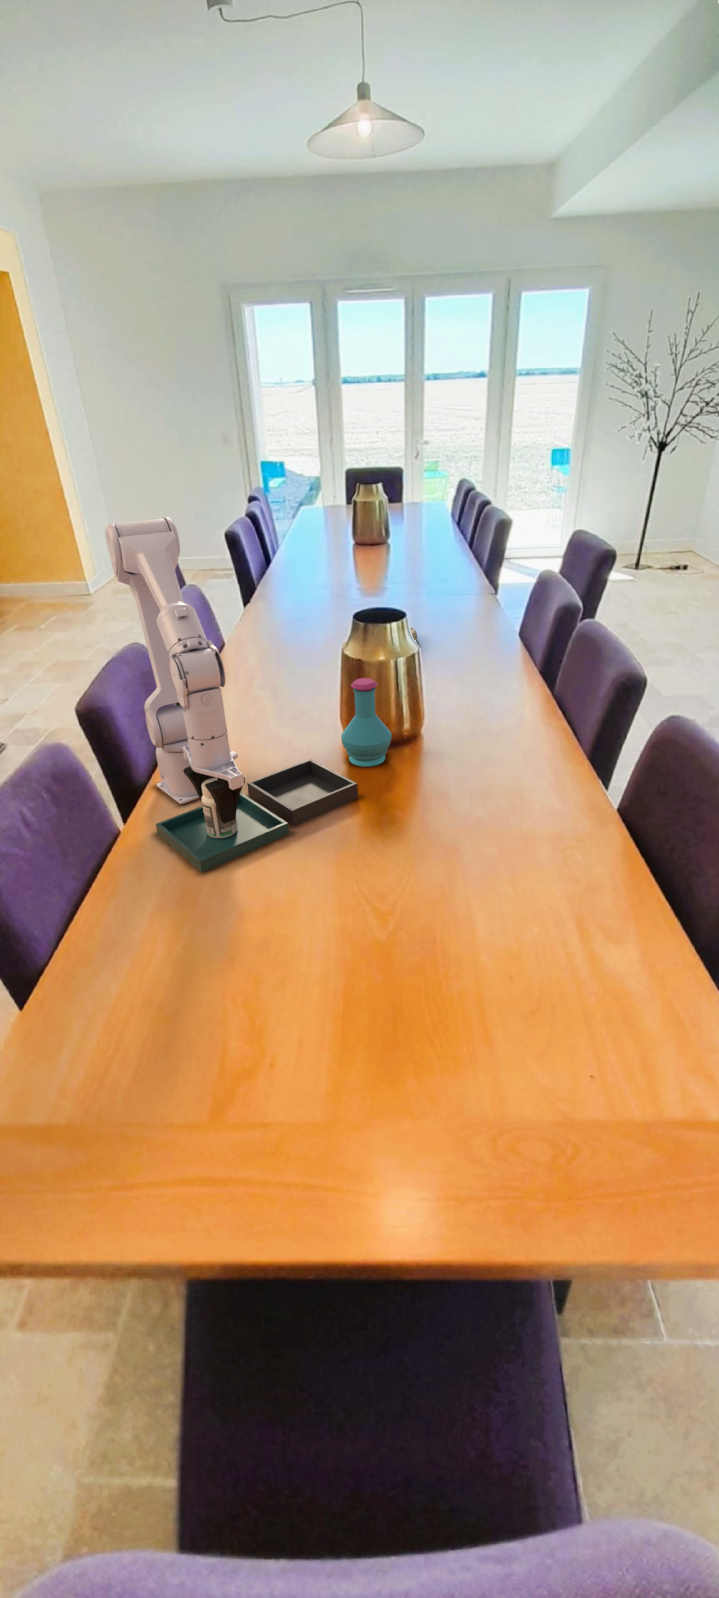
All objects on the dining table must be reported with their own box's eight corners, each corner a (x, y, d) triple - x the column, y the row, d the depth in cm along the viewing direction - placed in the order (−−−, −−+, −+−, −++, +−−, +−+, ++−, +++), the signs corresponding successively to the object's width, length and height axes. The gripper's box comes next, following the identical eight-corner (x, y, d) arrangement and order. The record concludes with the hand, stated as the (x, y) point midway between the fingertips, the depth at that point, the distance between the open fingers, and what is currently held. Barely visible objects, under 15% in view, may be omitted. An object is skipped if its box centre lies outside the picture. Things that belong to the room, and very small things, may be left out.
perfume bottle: (387, 771, 128) (385, 691, 121) (337, 768, 130) (332, 689, 123) (395, 749, 136) (394, 673, 129) (348, 747, 138) (344, 672, 131)
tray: (157, 834, 112) (155, 823, 111) (241, 801, 121) (239, 791, 120) (201, 872, 103) (199, 861, 102) (289, 834, 111) (288, 823, 110)
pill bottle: (242, 824, 113) (235, 776, 109) (231, 840, 109) (224, 791, 105) (213, 822, 114) (205, 775, 110) (202, 838, 110) (193, 789, 106)
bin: (248, 797, 122) (246, 782, 121) (311, 772, 129) (310, 758, 128) (293, 826, 113) (291, 810, 112) (358, 798, 120) (357, 783, 119)
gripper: (257, 738, 101) (268, 822, 107) (206, 711, 111) (219, 789, 117) (213, 754, 97) (226, 839, 103) (164, 724, 107) (179, 804, 113)
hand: (220, 814), depth 110 cm, fingers closed on pill bottle, 5 cm apart
